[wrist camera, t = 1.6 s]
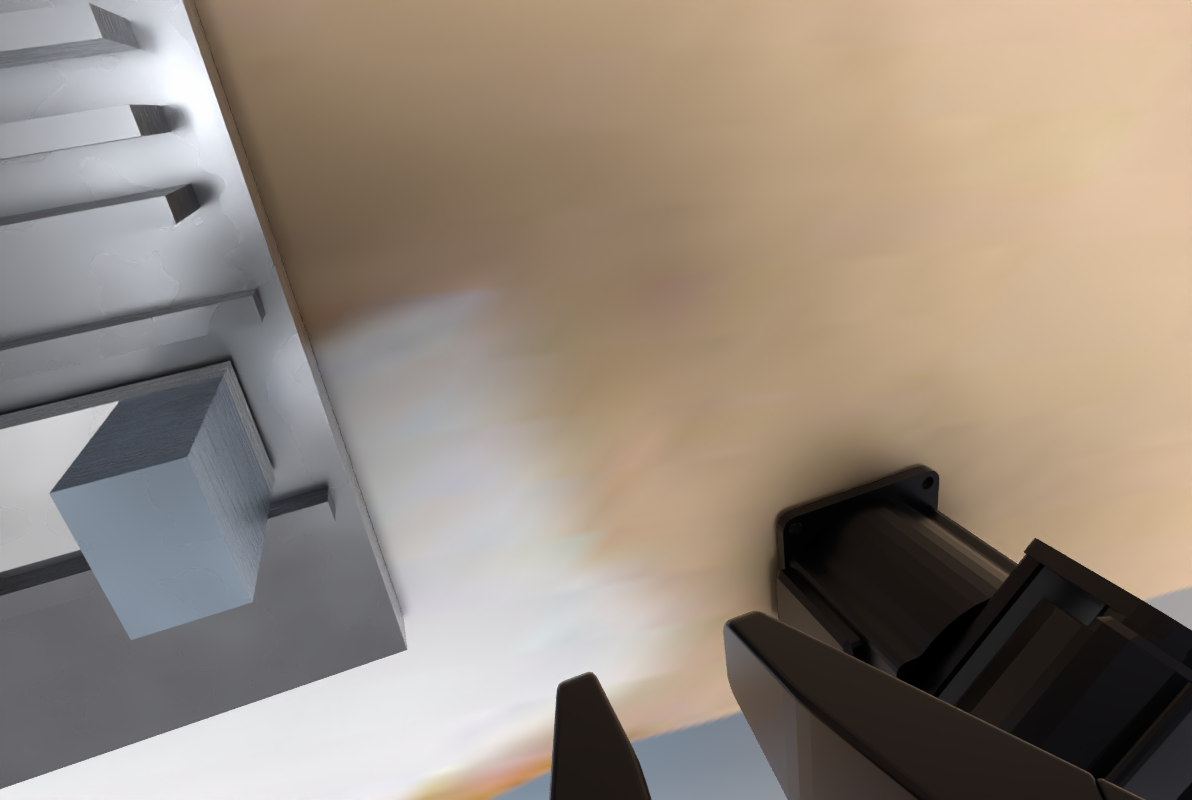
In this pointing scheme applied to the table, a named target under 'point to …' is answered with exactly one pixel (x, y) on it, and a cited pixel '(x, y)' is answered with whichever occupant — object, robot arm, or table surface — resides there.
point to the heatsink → (153, 350)
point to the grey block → (143, 494)
